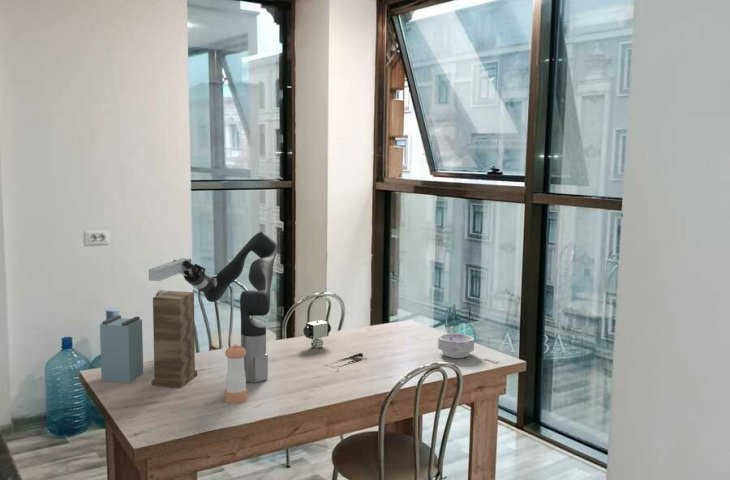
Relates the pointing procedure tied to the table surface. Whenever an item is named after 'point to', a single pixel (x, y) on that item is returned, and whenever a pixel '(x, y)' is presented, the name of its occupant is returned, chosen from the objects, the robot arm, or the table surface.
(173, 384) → the tall stand
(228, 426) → the table surface
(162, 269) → the steel bar
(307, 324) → the pneumatic valve
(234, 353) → the pepper shaker
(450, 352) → the grey stone bowl
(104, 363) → the blue grey angular block
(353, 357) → the hacksaw
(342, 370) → the table surface
